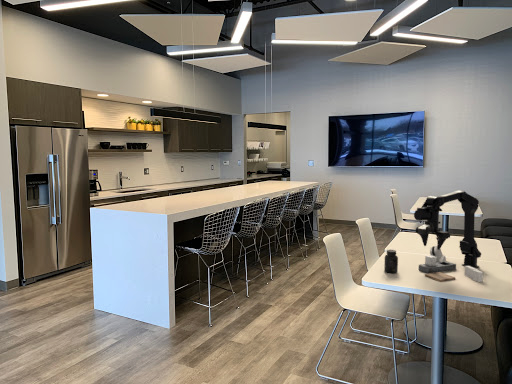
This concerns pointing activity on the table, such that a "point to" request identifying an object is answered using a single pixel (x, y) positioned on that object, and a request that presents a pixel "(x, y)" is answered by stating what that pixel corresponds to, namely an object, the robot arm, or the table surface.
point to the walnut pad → (440, 276)
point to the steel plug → (430, 261)
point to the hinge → (437, 254)
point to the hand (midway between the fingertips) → (431, 247)
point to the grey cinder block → (438, 267)
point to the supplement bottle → (391, 262)
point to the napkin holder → (473, 273)
